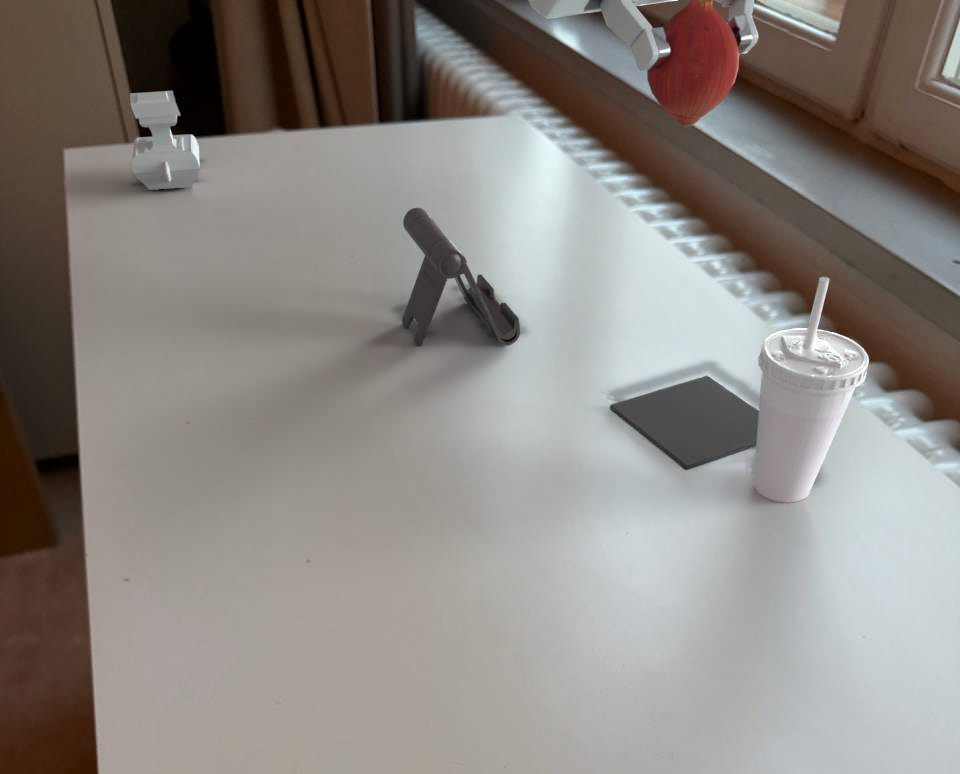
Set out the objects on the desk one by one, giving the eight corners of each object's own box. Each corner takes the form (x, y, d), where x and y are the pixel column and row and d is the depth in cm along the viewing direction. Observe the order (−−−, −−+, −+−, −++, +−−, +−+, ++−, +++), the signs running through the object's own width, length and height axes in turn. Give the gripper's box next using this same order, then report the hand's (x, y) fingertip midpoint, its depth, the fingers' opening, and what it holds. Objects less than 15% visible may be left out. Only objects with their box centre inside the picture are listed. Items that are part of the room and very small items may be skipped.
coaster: (706, 379, 78) (707, 374, 78) (787, 435, 73) (788, 430, 72) (609, 409, 75) (609, 404, 75) (686, 470, 69) (687, 465, 69)
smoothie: (770, 448, 72) (817, 249, 62) (850, 488, 68) (913, 284, 58) (712, 484, 68) (752, 280, 59) (793, 527, 65) (850, 319, 55)
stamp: (205, 197, 104) (190, 107, 98) (137, 202, 103) (118, 111, 97) (202, 166, 111) (187, 80, 105) (138, 171, 109) (120, 84, 104)
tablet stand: (520, 345, 82) (524, 241, 76) (426, 361, 80) (423, 255, 74) (482, 298, 88) (483, 198, 82) (394, 312, 86) (388, 211, 80)
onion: (632, 133, 69) (646, -5, 63) (652, 108, 73) (667, -25, 67) (719, 144, 67) (741, 3, 62) (735, 118, 71) (757, -17, 66)
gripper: (507, -184, 59) (588, 47, 60) (780, -200, 67) (850, 6, 67) (470, -101, 65) (544, 108, 66) (724, -124, 73) (789, 64, 73)
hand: (701, 56), depth 67 cm, fingers closed on onion, 6 cm apart
